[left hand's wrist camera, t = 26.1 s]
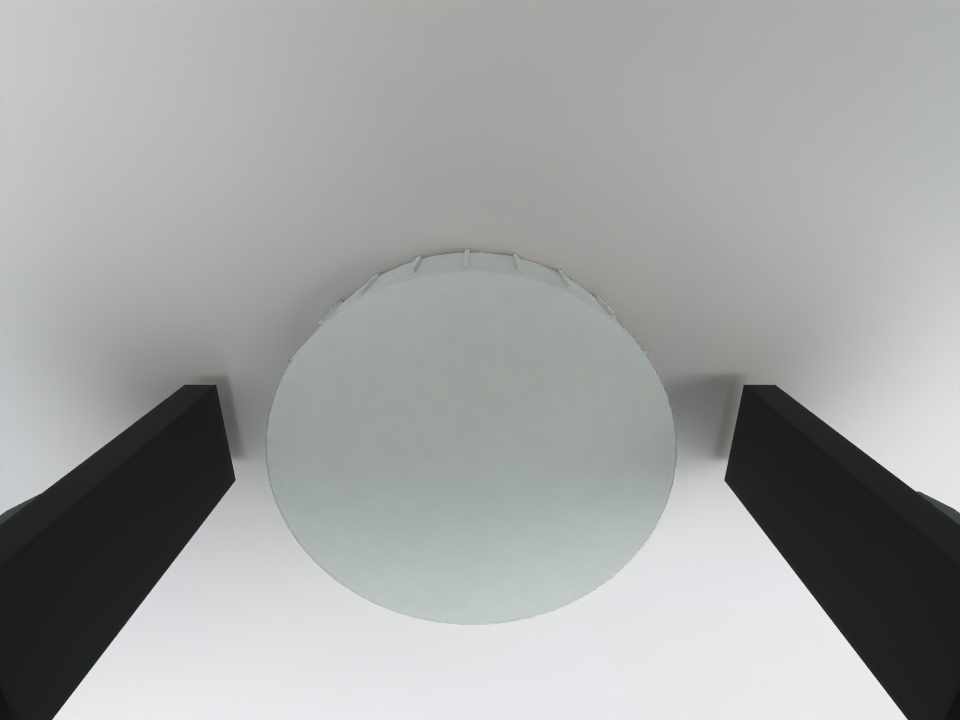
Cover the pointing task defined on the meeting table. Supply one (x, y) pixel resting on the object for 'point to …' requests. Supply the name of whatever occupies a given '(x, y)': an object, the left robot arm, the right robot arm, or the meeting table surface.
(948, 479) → the meeting table surface
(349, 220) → the meeting table surface
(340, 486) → the lid
